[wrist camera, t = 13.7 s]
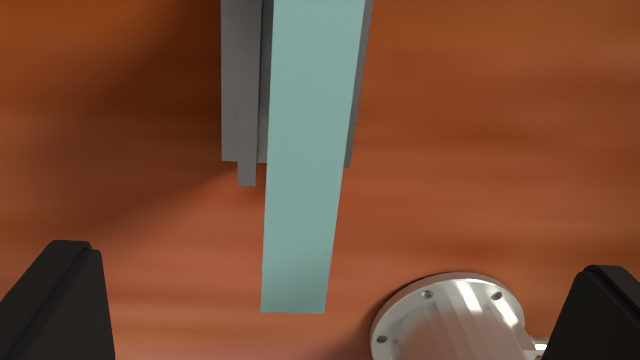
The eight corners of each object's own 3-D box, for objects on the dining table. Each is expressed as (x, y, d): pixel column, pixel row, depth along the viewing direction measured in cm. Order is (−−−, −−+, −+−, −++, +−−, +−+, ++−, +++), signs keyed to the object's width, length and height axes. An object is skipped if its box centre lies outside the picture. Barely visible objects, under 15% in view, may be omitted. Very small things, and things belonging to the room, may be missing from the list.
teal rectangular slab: (318, -53, 23) (369, -32, 10) (303, 131, 28) (324, 313, 14) (278, -58, 23) (276, -42, 10) (270, 129, 27) (260, 312, 14)
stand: (381, -86, 23) (399, -89, 20) (347, 160, 30) (356, 191, 26) (222, -104, 22) (211, -111, 19) (223, 154, 29) (215, 184, 26)
